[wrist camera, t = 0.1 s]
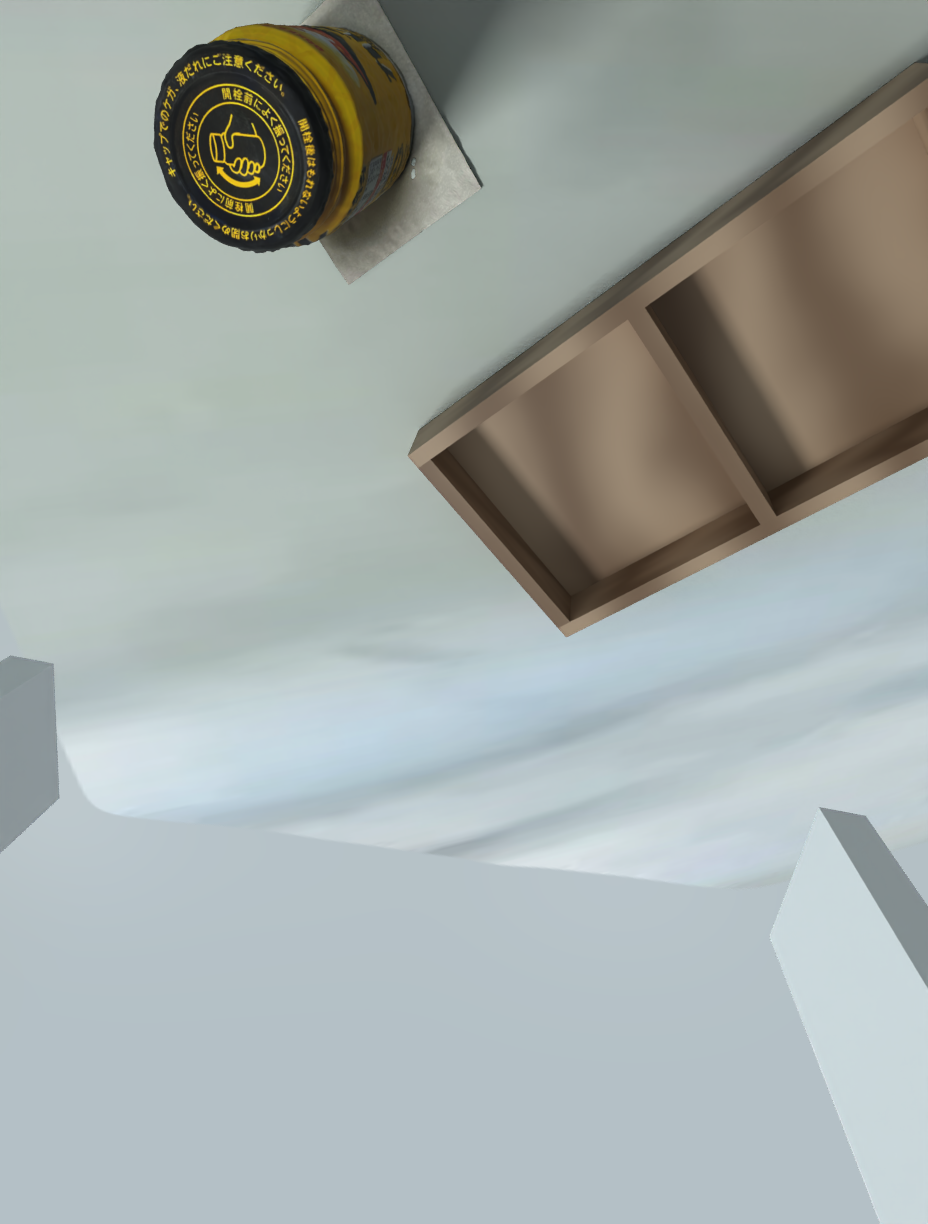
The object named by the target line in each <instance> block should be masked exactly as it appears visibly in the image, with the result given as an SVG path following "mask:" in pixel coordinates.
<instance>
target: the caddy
mask: <svg viewBox="0 0 928 1224" xmlns="http://www.w3.org/2000/svg"><path fill="white" fill-rule="evenodd" d="M408 457H409V458H410V459H411V460H412V462H413V463H414V464H415V465H416V466H417V467H418V468H419V470H420V471H421V472H422V473H423V474H424V475H425V476H426V478H427V479H428V480H429V481H430V482H431V483H432V484H433V486H434V487H435V488H436V489H437V490H438V491H439V492H440V494H441V495H442V496H443V497H444V498H445V499H446V500H447V502H448V503H449V504H450V505H451V506H452V507H453V508H454V510H455V511H456V512H457V513H458V514H459V515H460V516H461V518H462V519H463V520H464V521H465V522H466V523H467V524H468V526H469V527H470V528H471V529H472V530H473V531H474V532H475V534H476V535H477V536H478V537H479V538H480V539H481V540H482V542H483V543H484V544H485V545H486V546H487V547H488V548H489V550H490V551H491V552H492V553H493V554H494V555H495V556H496V558H497V559H498V560H499V561H500V562H501V563H502V564H503V566H504V567H505V568H506V569H507V570H508V571H509V572H510V574H511V575H512V576H513V577H514V578H515V579H516V580H517V582H518V583H519V584H520V585H521V586H522V587H523V588H524V590H525V591H526V592H527V593H528V594H529V595H530V596H531V598H532V599H533V600H534V601H535V602H536V603H537V604H538V606H539V607H540V608H541V609H542V610H543V611H544V612H545V614H546V615H547V616H548V617H549V618H550V619H551V620H552V622H553V623H554V624H555V625H556V626H557V627H558V629H559V630H560V631H561V632H562V633H563V634H564V635H565V637H568V636H570V635H572V634H574V633H576V632H578V631H580V630H582V629H584V628H586V627H588V626H590V625H592V624H594V623H596V622H598V621H600V620H602V619H604V618H606V617H608V616H610V615H612V614H614V613H616V612H618V611H620V610H622V609H624V608H626V607H628V606H630V605H632V604H634V603H636V602H638V601H640V600H642V599H644V598H646V597H648V596H650V595H652V594H654V593H656V592H658V591H660V590H662V589H664V588H666V587H668V586H670V585H672V584H674V583H676V582H678V581H680V580H682V579H684V578H686V577H688V576H690V575H692V574H694V573H696V572H698V571H700V570H702V569H704V568H706V567H708V566H710V565H712V564H714V563H716V562H718V561H720V560H722V559H724V558H726V557H728V556H730V555H732V554H734V553H736V552H738V551H740V550H742V549H744V548H746V547H748V546H750V545H752V544H754V543H756V542H758V541H760V540H762V539H764V538H766V537H768V536H770V535H772V534H774V533H776V532H778V531H780V530H782V529H784V528H786V527H788V526H790V525H792V524H794V523H796V522H798V521H800V520H802V519H804V518H806V517H808V516H810V515H812V514H814V513H816V512H818V511H820V510H822V509H824V508H826V507H828V506H830V505H832V504H834V503H836V502H838V501H840V500H842V499H844V498H846V497H848V496H850V495H852V494H854V493H856V492H858V491H860V490H862V489H864V488H866V487H868V486H870V485H872V484H874V483H876V482H878V481H880V480H882V479H884V478H886V477H888V476H890V475H892V474H894V473H896V472H898V471H900V470H902V469H904V468H906V467H908V466H910V465H912V464H914V463H916V462H918V461H920V460H922V459H924V458H926V457H928V63H916V62H915V63H914V64H912V65H911V66H909V67H908V68H907V69H905V70H904V71H903V72H901V73H900V74H899V75H897V76H896V77H895V78H893V79H892V80H891V81H889V82H888V83H887V84H885V85H884V86H882V87H881V88H880V89H878V90H877V91H876V92H874V93H873V94H872V95H870V96H869V97H868V98H866V99H865V100H864V101H862V102H861V103H860V104H858V105H857V106H856V107H854V108H853V109H851V110H850V111H849V112H847V113H846V114H845V115H843V116H842V117H841V118H839V119H838V120H837V121H835V122H834V123H833V124H831V125H830V126H829V127H827V128H826V129H824V130H823V131H822V132H820V133H819V134H818V135H816V136H815V137H814V138H812V139H811V140H810V141H808V142H807V143H806V144H804V145H803V146H802V147H800V148H799V149H797V150H796V151H795V152H793V153H792V154H791V155H789V156H788V157H787V158H785V159H784V160H783V161H781V162H780V163H779V164H777V165H776V166H775V167H773V168H772V169H771V170H769V171H768V172H766V173H765V174H764V175H762V176H761V177H760V178H758V179H757V180H756V181H754V182H753V183H752V184H750V185H749V186H748V187H746V188H745V189H744V190H742V191H741V192H739V193H738V194H737V195H735V196H734V197H733V198H731V199H730V200H729V201H727V202H726V203H725V204H723V205H722V206H721V207H719V208H718V209H717V210H715V211H714V212H712V213H711V214H710V215H708V216H707V217H706V218H704V219H703V220H702V221H700V222H699V223H698V224H696V225H695V226H694V227H692V228H691V229H690V230H688V231H687V232H686V233H684V234H683V235H681V236H680V237H679V238H677V239H676V240H675V241H673V242H672V243H671V244H669V245H668V246H667V247H665V248H664V249H663V250H661V251H660V252H659V253H657V254H656V255H654V256H653V257H652V258H650V259H649V260H648V261H646V262H645V263H644V264H642V265H641V266H640V267H638V268H637V269H636V270H634V271H633V272H632V273H630V274H629V275H627V276H626V277H625V278H623V279H622V280H621V281H619V282H618V283H617V284H615V285H614V286H613V287H611V288H610V289H609V290H607V291H606V292H605V293H603V294H602V295H601V296H599V297H598V298H596V299H595V300H594V301H592V302H591V303H590V304H588V305H587V306H586V307H584V308H583V309H582V310H580V311H579V312H578V313H576V314H575V315H574V316H572V317H571V318H569V319H568V320H567V321H565V322H564V323H563V324H561V325H560V326H559V327H557V328H556V329H555V330H553V331H552V332H551V333H549V334H548V335H547V336H545V337H544V338H542V339H541V340H540V341H538V342H537V343H536V344H534V345H533V346H532V347H530V348H529V349H528V350H526V351H525V352H524V353H522V354H521V355H520V356H518V357H517V358H516V359H514V360H513V361H511V362H510V363H509V364H507V365H506V366H505V367H503V368H502V369H501V370H499V371H498V372H497V373H495V374H494V375H493V376H491V377H490V378H489V379H487V380H486V381H484V382H483V383H482V384H480V385H479V386H478V387H476V388H475V389H474V390H472V391H471V392H470V393H468V394H467V395H466V396H464V397H463V398H462V399H460V400H459V401H457V402H456V403H455V404H453V405H452V406H451V407H449V408H448V409H447V410H445V411H444V412H443V413H441V414H440V415H439V416H437V417H436V418H435V419H433V420H432V421H430V422H429V423H428V424H426V425H425V426H424V427H422V428H421V429H420V430H419V431H418V433H417V435H416V438H415V440H414V442H413V445H412V447H411V449H410V451H409V454H408Z"/></svg>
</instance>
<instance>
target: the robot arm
mask: <svg viewBox="0 0 928 1224" xmlns="http://www.w3.org/2000/svg"><path fill="white" fill-rule="evenodd" d="M57 757H58V756H57V734H56V711H55V689H54V666H53V663H47V662H42V661H37V660H31V659H26V658H21V657H15V656H9V657H8V658H6V659H4V660H2V661H1V662H0V853H1V852H2V851H3V850H4V849H5V848H6V847H7V846H9V845H10V844H11V843H12V842H13V841H14V840H15V839H16V838H17V837H18V836H19V835H20V834H21V833H22V832H23V831H25V830H26V829H27V828H28V827H29V826H30V825H31V824H32V823H33V822H34V821H35V820H36V819H37V818H39V817H40V816H41V815H42V814H43V813H44V812H45V811H46V810H47V809H48V808H49V807H50V806H51V805H52V804H54V803H55V802H56V801H57V800H58V799H59V779H58V758H57ZM770 940H771V942H772V945H773V947H774V950H775V953H776V955H777V958H778V960H779V963H780V965H781V968H782V971H783V973H784V976H785V979H786V981H787V984H788V986H789V989H790V992H791V994H792V997H793V999H794V1002H795V1004H796V1007H797V1010H798V1012H799V1015H800V1017H801V1020H802V1023H803V1025H804V1028H805V1031H806V1033H807V1036H808V1038H809V1041H810V1043H811V1046H812V1049H813V1051H814V1054H815V1056H816V1059H817V1061H818V1064H819V1067H820V1069H821V1072H822V1075H823V1077H824V1080H825V1082H826V1085H827V1088H828V1090H829V1093H830V1095H831V1098H832V1101H833V1103H834V1106H835V1108H836V1111H837V1114H838V1116H839V1119H840V1121H841V1124H842V1127H843V1129H844V1132H845V1134H846V1137H847V1140H848V1142H849V1145H850V1147H851V1150H852V1153H853V1155H854V1158H855V1160H856V1163H857V1166H858V1168H859V1171H860V1173H861V1176H862V1179H863V1181H864V1184H865V1186H866V1189H867V1192H868V1194H869V1197H870V1199H871V1202H872V1205H873V1207H874V1210H875V1212H876V1215H877V1218H878V1220H879V1223H880V1224H928V906H927V904H926V903H925V902H924V900H923V899H922V897H921V896H920V894H919V893H918V892H917V890H916V888H915V887H914V886H913V884H912V883H911V881H910V880H909V878H908V877H907V875H906V874H905V872H904V871H903V870H902V868H901V867H900V865H899V864H898V862H897V861H896V860H895V858H894V857H893V855H892V854H891V852H890V851H889V849H888V848H887V846H886V845H885V843H884V842H883V841H882V839H881V838H880V836H879V835H878V833H877V832H876V830H875V829H874V827H873V826H872V825H871V823H870V822H869V820H868V819H867V817H866V816H863V815H858V814H853V813H847V812H842V811H837V810H831V809H826V808H821V807H819V808H818V811H817V813H816V816H815V819H814V821H813V824H812V826H811V829H810V832H809V834H808V837H807V839H806V842H805V845H804V847H803V850H802V853H801V855H800V858H799V860H798V863H797V866H796V868H795V871H794V874H793V876H792V879H791V881H790V884H789V887H788V890H787V892H786V894H785V897H784V900H783V903H782V905H781V908H780V910H779V913H778V916H777V918H776V921H775V924H774V926H773V929H772V931H771V934H770Z"/></svg>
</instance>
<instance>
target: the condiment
mask: <svg viewBox="0 0 928 1224" xmlns="http://www.w3.org/2000/svg"><path fill="white" fill-rule="evenodd" d="M154 149H155V152H156V155H157V158H158V161H159V164H160V167H161V169H162V172H163V175H164V178H165V181H166V184H167V187H168V189H169V191H170V193H171V195H172V197H173V198H174V200H175V201H176V202H177V204H178V205H179V206H180V207H181V208H182V209H183V210H184V212H185V213H186V214H187V216H188V217H189V218H190V219H191V220H192V221H193V223H194V224H195V225H196V226H197V227H199V228H200V229H201V230H202V231H204V232H205V233H206V234H208V235H209V236H210V237H212V238H214V239H215V240H217V241H219V242H221V243H223V244H225V245H228V246H232V247H237V248H239V249H241V250H243V251H254V252H255V253H264V252H266V251H271V252H274V251H276V250H279V249H281V248H287V247H295V246H297V247H299V246H302V245H309V244H311V243H313V242H316V241H318V240H319V241H320V242H321V244H322V245H323V247H324V248H325V250H326V251H327V253H328V254H329V256H330V258H331V259H332V261H333V263H334V264H335V266H336V267H337V269H338V270H339V271H340V273H341V274H342V276H343V277H344V279H345V280H346V282H347V283H348V285H349V284H351V283H352V282H354V281H355V280H356V279H358V278H359V277H360V276H362V275H363V274H364V273H366V272H367V271H368V270H370V269H371V268H373V267H374V266H375V265H377V264H378V263H379V262H381V261H382V260H384V259H385V258H386V257H388V256H389V255H390V254H392V253H393V252H395V251H396V250H397V249H399V248H400V247H401V246H403V245H404V244H405V243H407V242H408V241H410V240H411V239H412V238H414V237H415V236H417V235H418V234H419V233H421V232H422V230H424V229H426V228H428V227H429V226H430V225H432V224H433V223H434V222H436V221H437V220H438V219H440V218H441V217H443V216H444V215H445V214H447V213H448V212H450V211H451V210H452V209H454V208H455V207H456V206H458V205H459V204H461V203H462V202H463V201H465V200H466V199H468V198H469V197H470V196H472V195H473V194H474V193H476V192H477V191H479V190H480V189H481V187H480V185H479V183H478V182H477V180H476V178H475V176H474V174H473V173H472V171H471V169H470V167H469V166H468V164H467V162H466V160H465V158H464V156H463V154H462V153H461V151H460V149H459V147H458V146H457V144H456V142H455V141H454V139H453V137H452V135H451V133H450V131H449V130H448V128H447V126H446V124H445V122H444V120H443V119H442V117H441V115H440V113H439V111H438V109H437V107H436V106H435V104H434V102H433V100H432V98H431V97H430V95H429V93H428V91H427V89H426V87H425V85H424V84H423V82H422V80H421V78H420V76H419V74H418V72H417V71H416V69H415V67H414V65H413V64H412V62H411V60H410V58H409V56H408V55H407V53H406V51H405V49H404V47H403V45H402V44H401V42H400V40H399V38H398V36H397V35H396V33H395V31H394V29H393V27H392V25H391V24H390V22H389V20H388V18H387V16H386V15H385V13H384V11H383V10H382V8H381V6H380V4H379V2H378V0H325V1H324V2H323V3H322V4H321V5H320V6H319V7H318V8H317V9H316V10H315V11H314V12H313V13H312V14H311V15H310V16H309V17H308V18H307V19H305V20H304V21H303V22H302V23H301V24H300V25H299V26H285V25H274V24H268V23H265V24H253V25H247V26H241V27H236V28H233V29H231V30H228V31H226V32H225V33H223V34H222V35H220V36H219V37H217V38H215V39H214V40H213V41H211V42H209V43H208V44H200V45H196V46H194V47H193V48H191V49H189V50H188V51H187V52H186V53H185V54H184V55H183V57H182V58H181V59H179V60H177V61H176V62H175V63H174V65H173V67H172V68H171V69H170V71H169V72H168V73H167V74H166V76H165V79H164V80H163V82H162V85H161V91H160V93H159V96H158V98H157V100H156V106H155V118H154ZM413 158H415V159H416V162H415V166H412V165H411V161H412V159H413ZM412 169H415V178H414V179H412V178H411V171H412Z"/></svg>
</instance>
